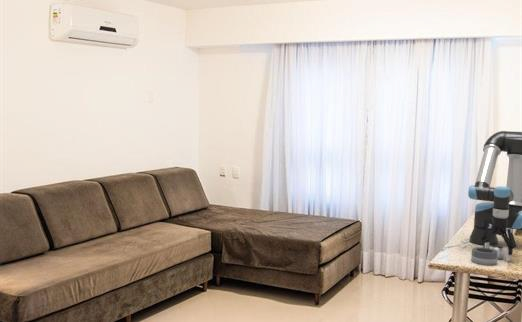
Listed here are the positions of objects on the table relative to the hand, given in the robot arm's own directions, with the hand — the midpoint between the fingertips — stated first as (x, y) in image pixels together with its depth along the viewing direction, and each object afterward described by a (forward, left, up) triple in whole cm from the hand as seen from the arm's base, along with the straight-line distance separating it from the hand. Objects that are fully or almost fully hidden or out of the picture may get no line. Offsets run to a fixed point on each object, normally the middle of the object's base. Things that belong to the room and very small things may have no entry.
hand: (497, 257), depth 301 cm
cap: (0, 0, 0) cm, 0 cm away
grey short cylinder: (+13, +2, 0) cm, 13 cm away
